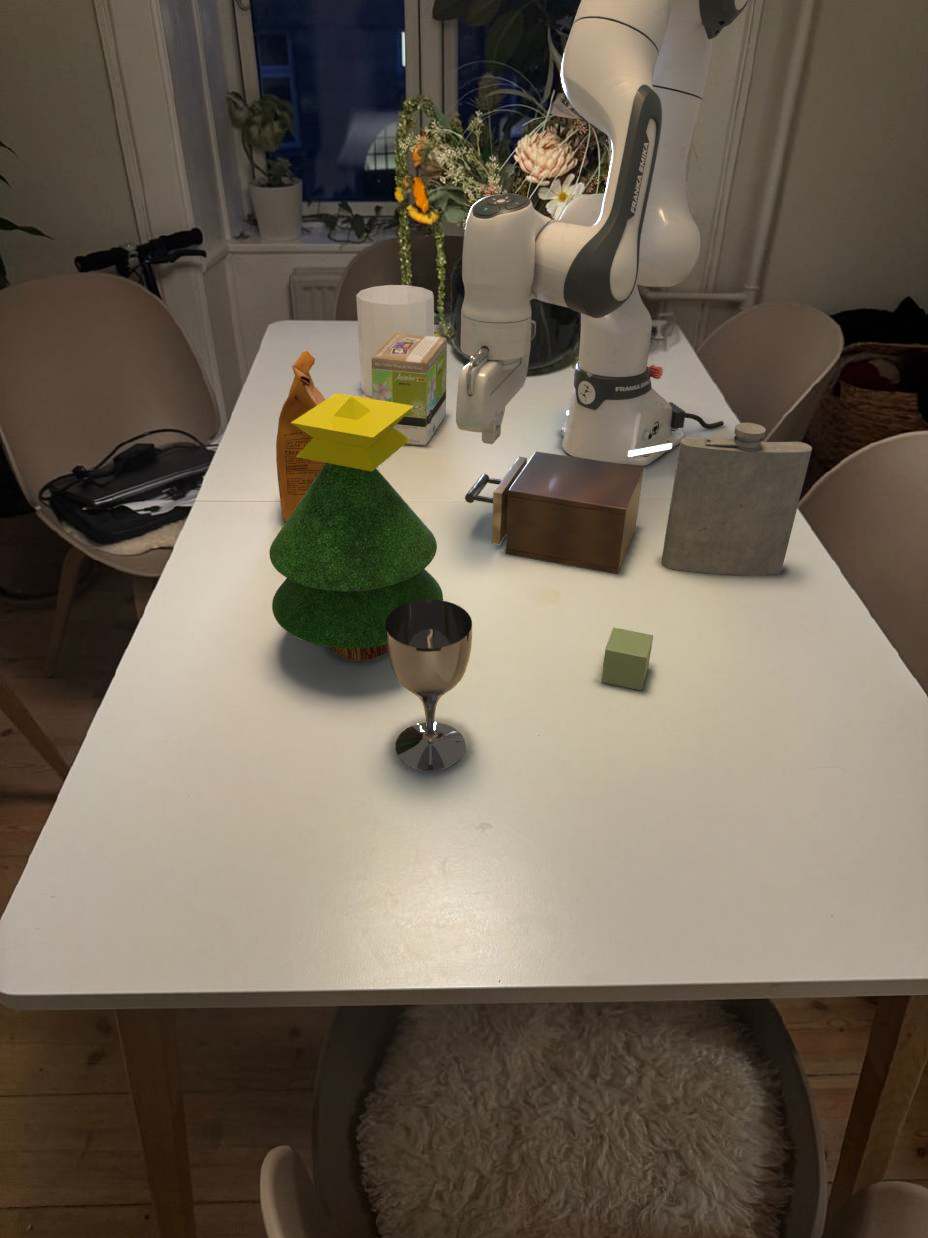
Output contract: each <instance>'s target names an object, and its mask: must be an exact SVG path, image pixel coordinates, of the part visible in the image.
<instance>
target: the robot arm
mask: <svg viewBox="0 0 928 1238" xmlns="http://www.w3.org/2000/svg"><path fill="white" fill-rule="evenodd" d="M748 3H749V0H580V3H579V5H578V7H577V11H576V14H575V17H574V20H573V22H572V26H571V29H570V32H569V35H568V38H567V41H566V44H565V48H564V50H563V51H564V52H563V54H562V61H561V66H560V67H561V68H560V78H561V80H560V81H561V84H562V88H563V91H564V94H565V96H566V99H567V100H568V102H569V104H570V106H572V108H573V109H574V110H575V112H577V114H579V115H580V116H581V117H582V118H583V119H584V120H585V121H586V122H588V123H589V124H591V125H592V126H594V127H595V128H596V129H598V130H599V131H600V132H602V133H603V134H605V135H607V137H608V138H609V141H610V144H611V151H612V152H611V160H610V165H609V170H608V176H607V180H606V185H605V186H606V187H605V191H604V192H603V193H592V194H584V195H580V196H577V197H574V199H572V200H571V201H570V202H568V204H567V205H566V206H565V208H564V209H563V211H562V213H561V215H560V218H559V220H556V219H552V218H551V217H549V216H546V215H544V214H543V213H540V212H539V211H537V210H536V209H535V208H534V205H533V202H532V200H531V199H530V198H529V197H527V196H526V195H523V194H518V193H501V194H491V195H487V196H484V197H482V198H481V199H478V200H477V201H476V202H475V203H473V204H472V206H471V207H470V209H469V212H468V215H467V218H466V222H465V226H464V227H465V228H464V235H463V241H462V243H463V245H462V257H461V258H462V259H461V279H462V283H463V287H464V288H463V289H464V297H463V302H462V305H461V311H460V312H461V313H460V314H461V315H460V351H461V352H462V353H463V354H464V355H466V356H468V357H469V362H468V363H467V364H466V365H465V366H464V367H463V368H462V370H461V372H460V374H459V378H458V384H457V394H456V408H455V424H456V426H457V429H459V430H461V431H464V432H465V431H466V432H473V433H481V442H482V443H483V444H487V445H494V444H495V442H496V441H497V440H498V439H499V438H500V436H501V433H502V423H503V420H504V415H505V412H506V406H507V405H508V404H509V403H510V402H511V401H512V400H513V398H514V397H515V396H516V395H517V394H518V393H519V391H521V389H523V387H524V386H525V383H526V380H527V375H528V370H529V363H530V355H531V348H532V340H533V339H535V337H536V331H537V323H536V321H535V320H532V314H533V313H532V306H531V301H532V300H538V301H540V302H543V303H546V304H550V305H554V306H555V305H556V306H560V307H563V308H568V309H569V310H572V311H574V312H577V313H579V314H580V335H579V336H580V337H579V352H578V361H577V363H576V364H575V368H574V373H573V377H574V378H573V387H574V389H573V390H572V392H571V396H570V402H569V406H568V410H566V413H565V415H566V416H567V418H566V422H565V425H564V426H562V427H561V435H562V437H563V439H562V441H561V448H562V449H563V451H564V452H566V454H568V456H571V457H578V458H585V459H591V460H598V461H605V462H612V463H619V464H626V465H633V466H639V467H644V466H648V465H649V464H651V463H652V462H654V461H656V459H658V458H660V457H661V456H663V455H664V454H665V453H668V452H669V451H670V450H672V449H673V448H674V447H676V446H677V445H680V440H681V439H682V438H685V434H684V433H683V432H682V431H681V430H680V429H683V428H684V426H685V421H686V419H690V420H693V421H696V422H697V423H698V424H699V425H700V426H701V427H703V428H704V429H708V430H709V429H711V430H712V429H715V428H719V427H723V426H724V424H725V423H724V420H720V421H716V422H713V423H708V422H706V421H705V420H704V419H703V418H702V417H701V416H699V415H697V414H694V413H689V412H686V411H685V410H684V409H682V408H681V407H679V406H678V405H677V404H675V403H673V402H672V401H669V402H668V401H667V400H666V399H665V398H664V397H663V396H661V395H660V394H659V393H658V392H657V391H656V390H655V389H653V385H652V381H651V378H653V379H655V380H660V379H661V378H662V376H663V374H664V369H663V367H662V366H656V365H655V364H650V365H649V366H648V360H649V352H650V345H651V337H652V329H653V320H652V316H651V314H650V312H649V310H648V308H647V307H646V305H645V304H644V302H643V299H642V298H641V295H640V292H639V287H638V286H641V287H650V288H671V287H674V286H677V285H679V284H681V283H682V282H683V281H685V279H687V278H688V277H689V276H690V274H691V273H692V271H693V270H694V268H695V266H696V265H697V263H698V260H699V256H700V252H701V246H702V245H701V243H702V242H701V234H700V230H699V227H698V225H697V224H696V221H695V220H694V218H693V216H692V213H691V211H690V207H689V201H688V194H687V165H688V159H689V153H690V149H691V144H692V140H693V135H694V131H695V127H696V123H697V119H698V115H699V113H700V108H701V103H702V100H703V97H704V92H705V89H706V84H707V80H708V75H709V70H710V64H711V58H712V52H713V43H714V39H715V38H716V37H718V36H719V34H720V33H721V32H722V30H723V29H724V28H726V27H727V26H730V25H731V24H732V23H733V21H735V20H736V19H737V18H738V17H739V16H740V15H741V14H742V13H743V11H744V10H745V9H746V7H747V5H748Z"/></svg>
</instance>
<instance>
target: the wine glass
mask: <svg viewBox="0 0 928 1238" xmlns="http://www.w3.org/2000/svg"><path fill="white" fill-rule="evenodd" d="M385 635H386V645H387V652H386V653H387V657H388V661H389V664H390V666H391V670H392V672H393V674H394V676H395V678H396V680H397V681H398V683H399V684H400V685H401V686H402V687H403V688H405V689H406V690H407V691H408V692H410V693H411V694H413V695H414V696H416V697H418V699H419V700H420V702H421V703H422V706H423V710H424V714H425V722H419V723H416V724H413V725H410V726H409V727H406V729H404V730H403V731H402V732H401V733H400V734H399V735H398V737H396V741H395V743H394V745H395V746H394V750H395V753H396V756H397V758H398V759H399V761H401V762H402V763H403V764H405V765H406V766H408V767H410V768H413V769H415V770H419V771H427V772H428V771H429V772H434V771H441V770H444V769H447V768H450V767H452V766H454V765H455V764H457V763H458V762H459V761H461V759H462V758H463V756H464V755H465V753H466V749H467V743H466V739H465V737H464V736H463V735H462V732H460V731H459V730H458V729H457V728H455V727H453V726H451V725H449V724H447V723H443V722H436V721H435V717H436V711H437V710H436V709H437V705H438V702H439V700H440V699H441V698H442V697H443V696H444V695H446V694H447V693H449V692H450V691H452V690H453V689H454V688H456V686H457V685H458V684H459V683H460V682H461V681H462V679H463V678H464V675H465V674H466V671H467V668H468V664H469V661H470V657H471V651H472V644H473V643H472V642H473V620H472V617H471V615H470V614H469V613H468V612H467V611H466V609H465V608H463V607H461V606H460V605H457V604H456V603H453V602H450V601H448V600H447V601H446V600H443V601H442V600H433V599H426V600H417V601H412V602H409V603H405V604H403V605H401V606H399V607H397V608H396V609H394V610H393V611H392V612H391V613H390V614H389V615H388V617H387V619H386V623H385Z"/></svg>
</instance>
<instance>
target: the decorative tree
mask: <svg viewBox="0 0 928 1238" xmlns="http://www.w3.org/2000/svg"><path fill="white" fill-rule="evenodd" d="M325 399H326V400H325V401H323V402H322V403H320V404H319V405H317V406H316V407H314V408H312V409H311V410H309V411H308V412H306V413H305V414H303V415H302V416H300V417H299V418H297V419H295V420H294V421H292V422H291V423H292V424H293V425H295V426H296V427H298V428H299V429H301V430H302V431H304V432H305V433H307V434H308V435H310V436H311V437H313V439H312V440H311V441H310V442H309V443H308V444H307V445H306V446H305V447H304V448H303V450H302V451H301V452H300V453H299V454H298V455H297V456H296V457H300V458H305V459H310V460H315V461H320V462H326V464H325V465H324V467H323V468H322V470H321V471H320V473H319V474H318V476H317V477H316V479H315V480H314V482H313V483H312V484H311V486H310V487H309V489H308V490H307V492H306V493H305V495H304V496H303V498H302V499H301V501H300V502H299V504H298V505H297V507H296V508H295V510H294V511H293V513H292V514H291V516H290V517H289V518H288V520H287V521H285V523H284V524H283V526H282V527H281V529H280V530H279V532H278V533H277V535H276V536H275V538H274V539H273V541H272V542H271V545H270V547H269V551H268V552H269V559H270V562H271V564H272V566H273V567H274V569H275V570H276V571H277V572H278V573H280V575H282V576H283V577H285V580H284V581H283V582H282V583H281V585H280V586H279V587H278V588H277V590H276V591H275V593H274V595H273V597H272V601H271V604H272V605H271V611H272V614H273V616H274V619H275V621H276V622H277V623H278V625H279V626H280V627H281V628H282V629H283V630H285V631H286V632H287V633H288V634H290V635H292V636H293V637H295V638H296V639H299V640H302V641H304V642H306V643H309V644H313V645H316V646H321V647H326V648H331V650H332V652H334V653H335V654H336V655H337V656H338V657H340V658H343V659H345V660H350V661H358V662H360V661H361V662H362V661H368V660H369V661H370V660H374V659H377V658H379V657H381V656H384V655H385V654H387V653H388V652H387V645H386V635H385V623H386V619H387V617H388V615H389V614H390V613H391V612H392V611H393V610H394V609H396V608H397V607H399V606H401V605H403V604H405V603H409V602H412V601H417V600H426V599H433V600H442V601H444V594H443V590H442V588H441V585H440V584H439V582H438V581H437V580H436V578H434V576H432V575H431V574H430V572H428V571H427V570H426V568H427V567H429V565H430V564H431V563H432V562H433V560H434V558H435V556H436V555H437V550H438V544H437V539H436V537H435V534H434V533H433V532H432V531H431V530H430V528H428V526H427V525H426V524H425V523H424V522H423V521H422V519H421V518H420V517H419V516H418V515H417V514H416V512H415V511H414V509H412V508H411V506H410V505H409V504H408V503H407V502H406V500H405V499H404V498H403V497H402V496H401V495H400V493H398V491H397V490H396V489H395V488H394V487H393V486H392V484H391V483H390V482H389V481H388V480H387V479H386V477H385V476H384V474H382V473H381V472H380V470H379V469H378V467H380V466H381V465H382V464H383V463H384V462H386V461H387V460H388V459H389V458H391V457H392V456H393V455H394V454H395V453H396V452H397V451H399V450H400V449H401V448H402V447H403V446H405V445H407V444H406V443H407V442H408V441H409V440H410V439H409V438H407V437H406V436H405V435H403V434H402V433H400V432H399V431H398V430H396V429H395V428H394V426H395V425H396V424H397V423H398V422H399V421H400V420H401V419H402V418H403V417H404V416H405V415H406V414H407V413H408V412H409V411H410V410H411V409H412V407H413V406H412V405H406V404H400V403H394V402H388V401H382V400H375V399H372V398H370V397H369V398H368V397H363V396H358V395H357V396H356V395H350V394H344V393H338V392H336V393H335V394H332V395H331V396H329V397H328V398H325Z"/></svg>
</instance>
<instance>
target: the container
mask: <svg viewBox="0 0 928 1238" xmlns="http://www.w3.org/2000/svg"><path fill="white" fill-rule="evenodd" d="M355 297H356V315H357V330H358V332H357V333H358V347H359V348H358V350H359V351H358V352H359V369H360V382H361V383H360V385H361V386H360V387H361V388H360V389H361V391H362V392H363V393H364V395H366V396H368V397H369V398H372V360H371V358H372V357H373V356H374V355H375V354H376V353H377V352H378V351H379V349H380V348H381V347H382V346H383V345H384V344H385V343H386V342H387V341H388V340H389V339H390V338H391V337H392V336H393V335H394V334H406V335H418V336H430V337H435V296H434V293H433V291H432V290H430V289H427V288H425V287H421V286H414V285H407V284H387V285H377V286H371V287H368V288H364V289H361V290H360V291H359V292H358V293H357V294H356V296H355Z"/></svg>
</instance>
